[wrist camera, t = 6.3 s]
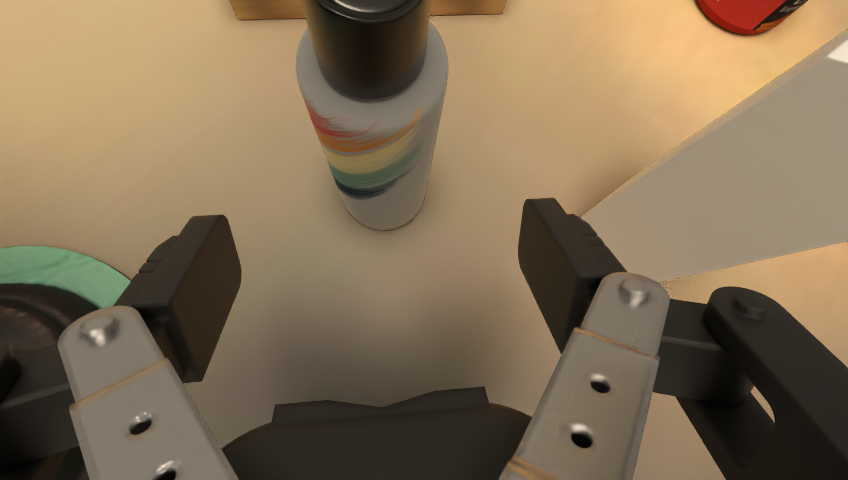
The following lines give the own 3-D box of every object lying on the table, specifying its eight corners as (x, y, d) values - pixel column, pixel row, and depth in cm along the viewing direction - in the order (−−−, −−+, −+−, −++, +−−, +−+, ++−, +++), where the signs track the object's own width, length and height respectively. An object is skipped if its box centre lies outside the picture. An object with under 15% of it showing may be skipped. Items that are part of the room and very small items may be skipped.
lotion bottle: (390, 138, 32) (380, -176, 12) (441, 198, 31) (516, -36, 12) (325, 185, 31) (205, -77, 11) (376, 248, 30) (341, 83, 11)
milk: (690, 238, 32) (1315, 32, 10) (629, 289, 31) (1187, 178, 9) (633, 172, 33) (1103, -147, 11) (572, 220, 31) (962, -33, 10)
